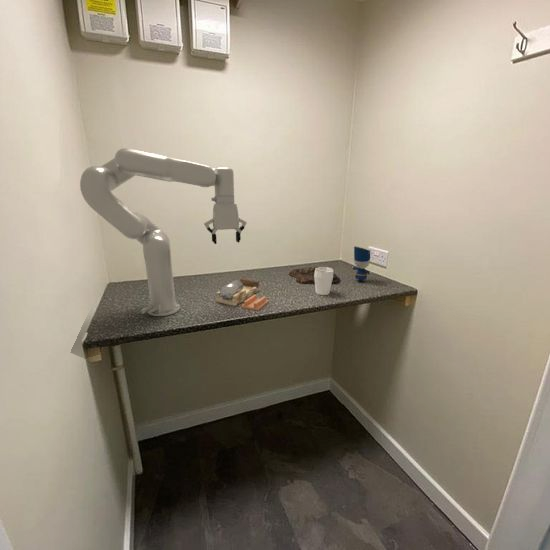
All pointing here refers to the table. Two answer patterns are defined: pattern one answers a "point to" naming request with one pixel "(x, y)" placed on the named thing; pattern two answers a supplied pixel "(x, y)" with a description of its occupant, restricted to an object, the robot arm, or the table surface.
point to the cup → (323, 280)
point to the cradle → (255, 303)
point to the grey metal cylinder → (231, 289)
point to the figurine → (361, 262)
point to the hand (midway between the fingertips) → (226, 242)
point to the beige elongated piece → (241, 293)
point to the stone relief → (308, 276)
